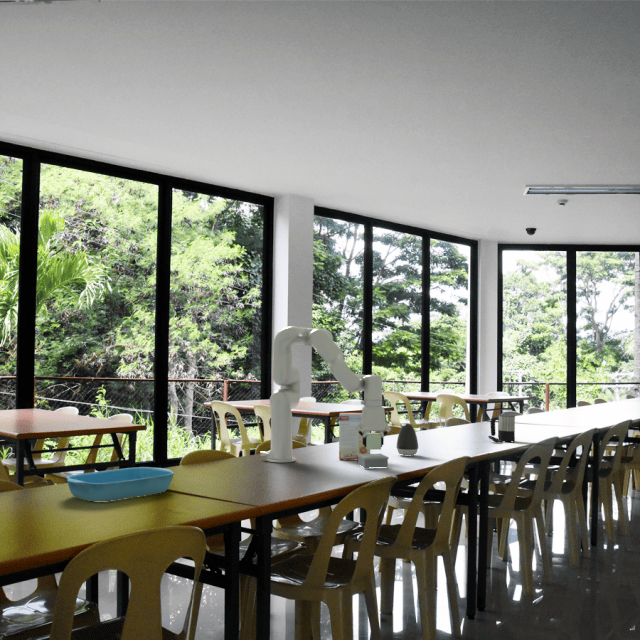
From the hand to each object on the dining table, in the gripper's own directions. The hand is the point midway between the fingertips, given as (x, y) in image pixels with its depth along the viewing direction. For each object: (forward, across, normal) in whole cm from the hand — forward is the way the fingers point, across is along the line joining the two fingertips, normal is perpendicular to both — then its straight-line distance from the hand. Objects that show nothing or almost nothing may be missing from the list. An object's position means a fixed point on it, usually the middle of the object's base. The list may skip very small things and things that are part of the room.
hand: (373, 446), depth 289 cm
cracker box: (+9, -6, +20) cm, 23 cm away
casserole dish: (+9, -90, -59) cm, 108 cm away
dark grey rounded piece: (+9, +20, +33) cm, 40 cm away
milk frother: (+9, +81, +87) cm, 119 cm away
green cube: (+1, 0, 0) cm, 1 cm away
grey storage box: (+9, 0, 0) cm, 9 cm away
